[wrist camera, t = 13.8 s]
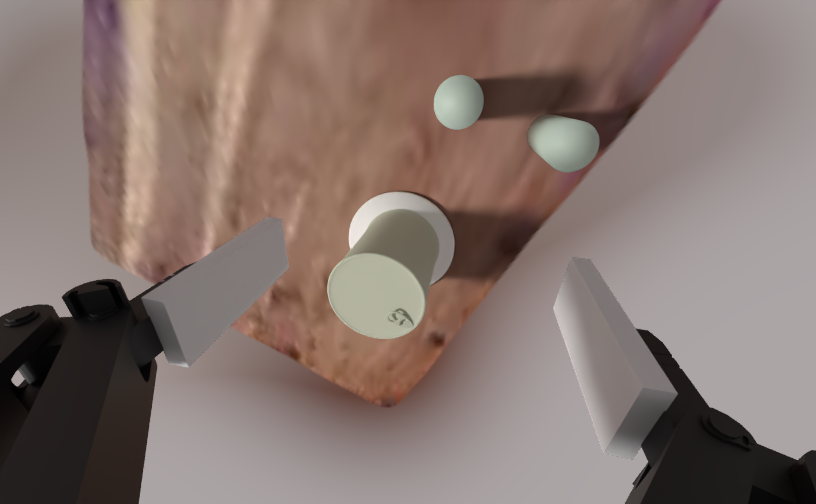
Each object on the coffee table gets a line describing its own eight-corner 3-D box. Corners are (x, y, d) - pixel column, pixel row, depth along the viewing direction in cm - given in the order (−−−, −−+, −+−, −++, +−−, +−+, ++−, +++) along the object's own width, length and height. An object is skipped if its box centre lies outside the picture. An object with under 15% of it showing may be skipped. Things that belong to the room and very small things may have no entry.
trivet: (352, 281, 43) (350, 283, 42) (348, 186, 37) (346, 187, 37) (448, 294, 41) (448, 297, 41) (460, 196, 35) (460, 198, 35)
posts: (439, 145, 33) (429, 161, 25) (463, -137, 24) (459, -252, 16) (609, 158, 31) (656, 179, 23) (706, -150, 22) (841, -290, 14)
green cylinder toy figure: (408, 291, 41) (385, 358, 31) (351, 247, 40) (306, 302, 29) (455, 243, 37) (448, 302, 26) (393, 192, 36) (359, 233, 25)
